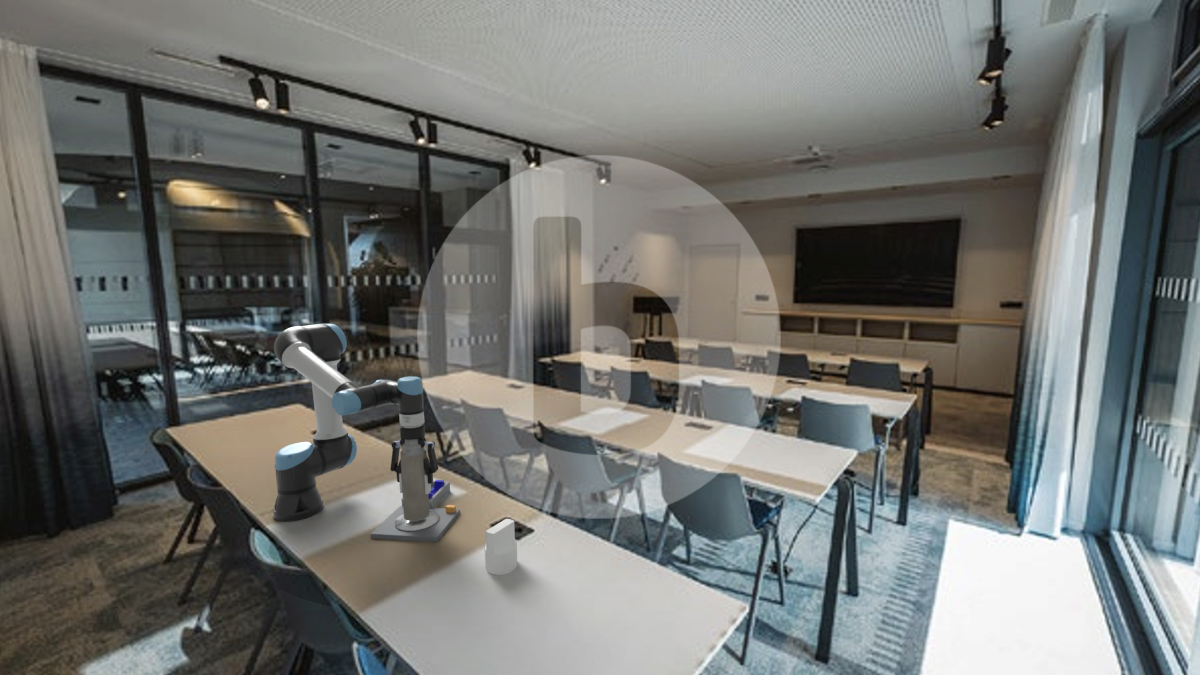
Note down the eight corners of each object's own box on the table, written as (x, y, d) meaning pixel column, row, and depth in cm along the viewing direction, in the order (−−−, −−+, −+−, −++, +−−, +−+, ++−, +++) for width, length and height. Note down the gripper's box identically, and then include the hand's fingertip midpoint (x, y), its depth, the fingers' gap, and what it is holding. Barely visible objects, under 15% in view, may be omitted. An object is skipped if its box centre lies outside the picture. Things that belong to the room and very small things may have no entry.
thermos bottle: (416, 508, 175) (412, 428, 171) (434, 512, 172) (430, 431, 168) (398, 518, 168) (393, 435, 164) (416, 523, 164) (412, 439, 161)
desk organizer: (402, 509, 181) (401, 498, 181) (422, 490, 197) (422, 480, 196) (431, 511, 180) (431, 500, 179) (450, 491, 196) (449, 481, 195)
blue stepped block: (433, 494, 194) (432, 479, 193) (444, 495, 193) (443, 480, 192) (418, 509, 182) (417, 493, 181) (430, 510, 181) (429, 494, 180)
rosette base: (370, 538, 162) (369, 527, 162) (400, 510, 181) (399, 500, 180) (437, 542, 160) (436, 531, 159) (460, 513, 178) (459, 503, 178)
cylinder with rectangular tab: (502, 578, 141) (501, 537, 139) (478, 568, 146) (477, 528, 144) (523, 562, 148) (522, 523, 147) (500, 553, 153) (499, 515, 152)
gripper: (375, 427, 163) (379, 495, 166) (438, 429, 161) (441, 498, 164) (387, 420, 170) (391, 485, 173) (447, 422, 168) (450, 488, 171)
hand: (415, 491), depth 169 cm, fingers closed on thermos bottle, 8 cm apart
